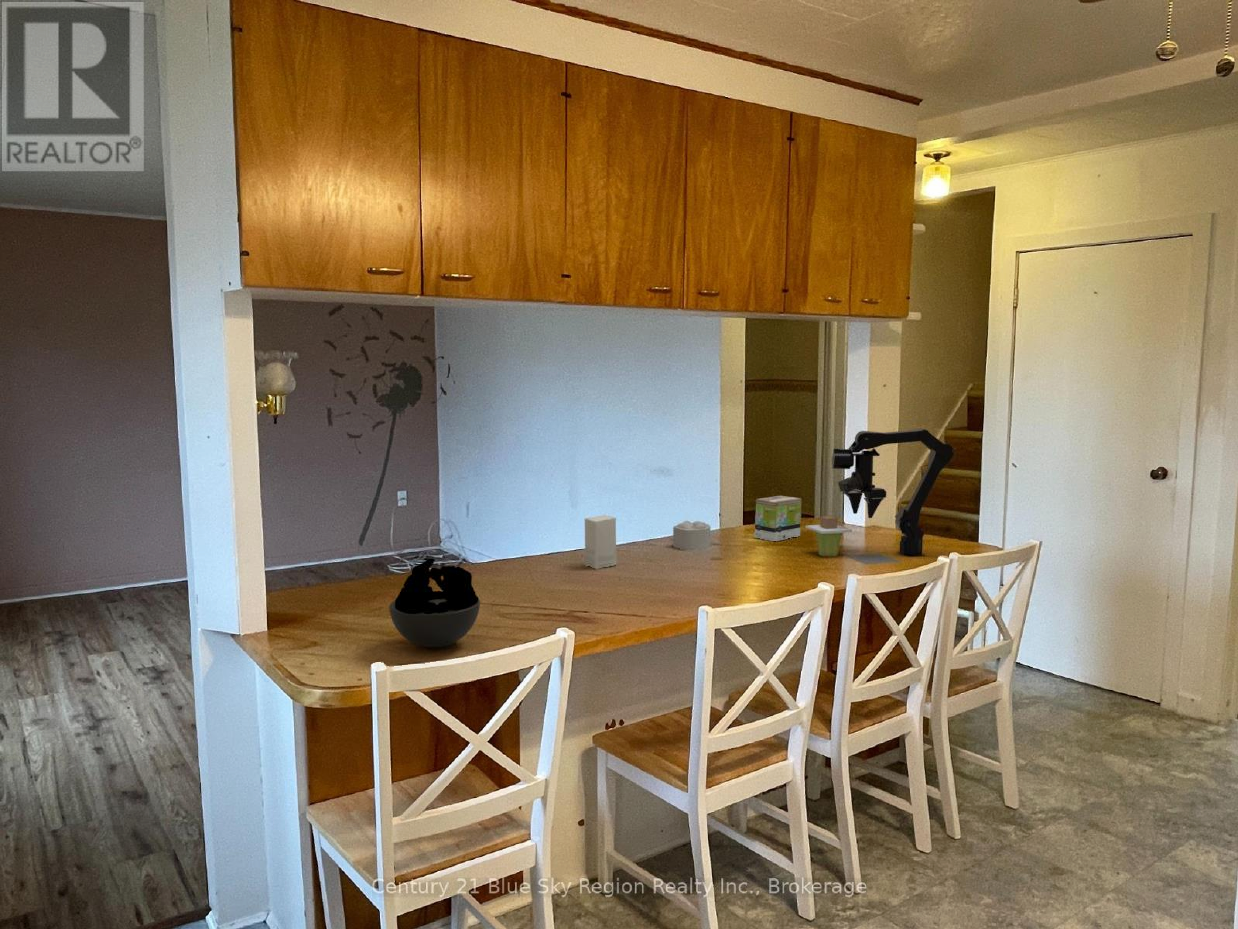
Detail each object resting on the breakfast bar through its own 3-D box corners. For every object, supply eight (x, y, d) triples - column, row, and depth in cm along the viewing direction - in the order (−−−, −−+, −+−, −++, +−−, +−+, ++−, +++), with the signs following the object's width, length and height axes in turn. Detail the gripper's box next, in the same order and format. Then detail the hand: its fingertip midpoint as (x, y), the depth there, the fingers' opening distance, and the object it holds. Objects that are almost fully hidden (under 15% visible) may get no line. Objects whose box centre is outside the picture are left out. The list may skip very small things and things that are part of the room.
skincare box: (605, 562, 283) (605, 514, 281) (617, 566, 277) (617, 517, 276) (583, 566, 278) (583, 517, 276) (595, 570, 272) (595, 520, 271)
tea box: (776, 542, 314) (776, 501, 312) (753, 538, 321) (754, 498, 320) (801, 537, 324) (802, 497, 322) (779, 533, 331) (780, 494, 330)
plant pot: (840, 552, 296) (841, 527, 295) (844, 558, 287) (845, 532, 286) (812, 552, 297) (812, 527, 296) (815, 558, 288) (816, 532, 287)
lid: (834, 526, 298) (835, 513, 298) (852, 532, 288) (852, 519, 287) (805, 527, 295) (805, 515, 294) (822, 533, 284) (822, 521, 284)
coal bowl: (467, 661, 188) (465, 575, 186) (377, 659, 190) (374, 574, 188) (490, 633, 208) (488, 555, 206) (407, 631, 210) (405, 554, 208)
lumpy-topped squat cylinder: (669, 546, 308) (669, 521, 307) (699, 542, 315) (699, 518, 314) (686, 551, 299) (687, 526, 298) (717, 547, 306) (717, 522, 305)
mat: (879, 554, 294) (879, 553, 293) (902, 562, 281) (902, 561, 281) (844, 556, 290) (844, 555, 290) (866, 565, 278) (866, 564, 277)
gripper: (827, 466, 297) (826, 512, 299) (857, 473, 280) (855, 521, 281) (857, 465, 300) (855, 511, 302) (888, 472, 283) (886, 520, 284)
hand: (862, 515), depth 292 cm, fingers open, 9 cm apart
